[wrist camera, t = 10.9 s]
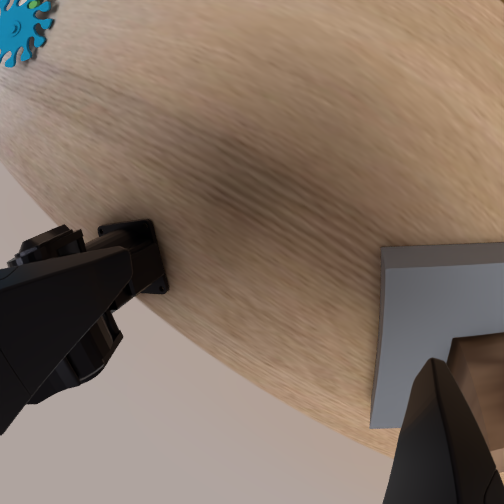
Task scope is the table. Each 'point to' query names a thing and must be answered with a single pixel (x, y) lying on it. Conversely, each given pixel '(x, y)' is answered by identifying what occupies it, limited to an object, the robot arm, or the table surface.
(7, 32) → the gear
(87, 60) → the table surface
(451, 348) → the walnut peg
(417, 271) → the socket block
